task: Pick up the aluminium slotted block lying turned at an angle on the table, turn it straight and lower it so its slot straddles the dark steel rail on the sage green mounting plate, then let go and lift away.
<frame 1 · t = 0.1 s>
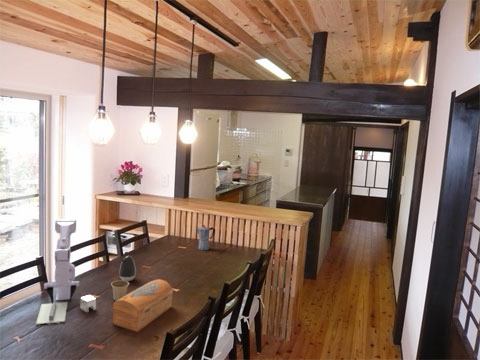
hand: (61, 301, 174), 10 cm above the table, tool pointing down, fingers open, 7 cm apart
egg shaped speaker: (127, 280, 230), on the table
rail plate: (52, 314, 182), on the table
wooden box: (142, 315, 188), on the table
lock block: (87, 309, 190), on the table
flower pot: (119, 299, 204), on the table
moka pot: (204, 249, 304), on the table
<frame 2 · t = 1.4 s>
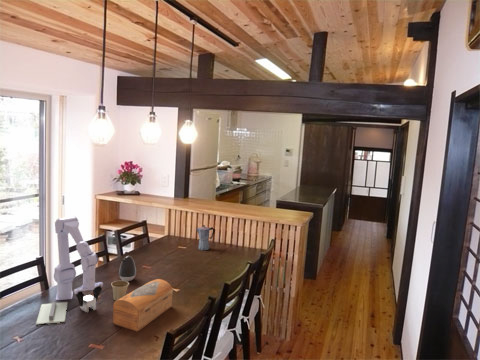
hand: (88, 303, 189), 3 cm above the table, tool pointing down, fingers open, 7 cm apart
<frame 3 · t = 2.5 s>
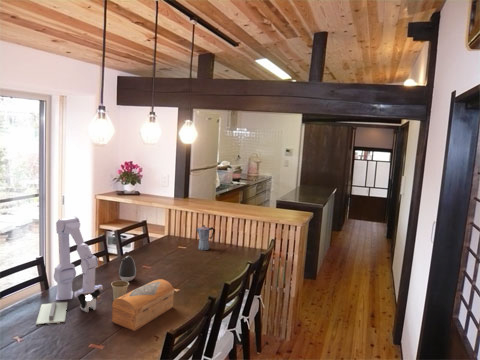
hand: (88, 306, 189), 2 cm above the table, tool pointing down, fingers closed on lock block, 5 cm apart
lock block: (87, 309, 190), on the table, touching gripper
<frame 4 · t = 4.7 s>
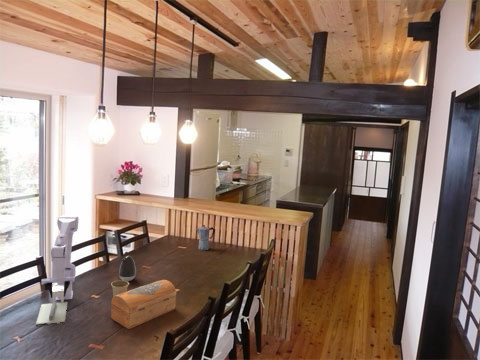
hand: (58, 296, 183), 8 cm above the table, tool pointing down, fingers closed on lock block, 5 cm apart
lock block: (58, 300, 183), point 7 cm above the table, touching gripper
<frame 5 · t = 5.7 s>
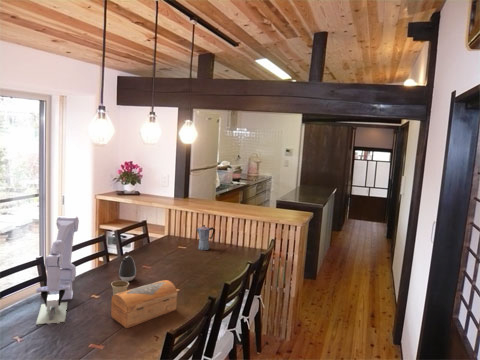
hand: (53, 305, 182), 4 cm above the table, tool pointing down, fingers closed on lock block, 5 cm apart
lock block: (52, 308, 182), point 2 cm above the table, touching gripper
when the fingers open (4 cm above the table, at t = 6.7 s): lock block stays where it is, resting on rail plate.
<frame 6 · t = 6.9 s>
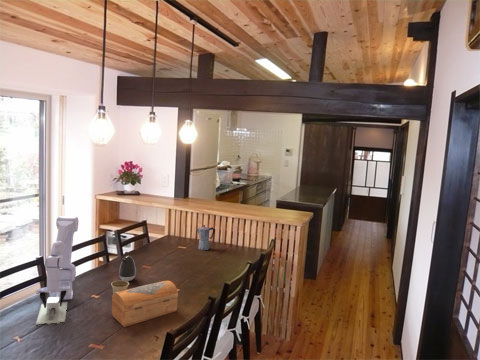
hand: (53, 306, 182), 4 cm above the table, tool pointing down, fingers open, 6 cm apart
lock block: (52, 311, 183), point 1 cm above the table, touching rail plate
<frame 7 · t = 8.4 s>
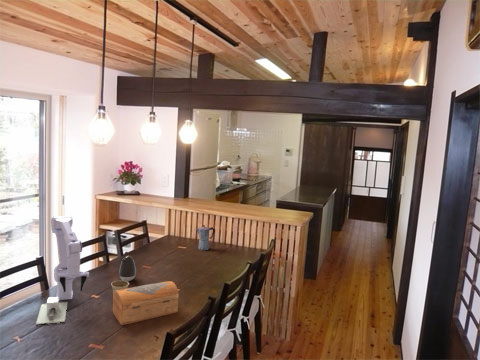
hand: (73, 290, 188), 9 cm above the table, tool pointing down, fingers open, 7 cm apart
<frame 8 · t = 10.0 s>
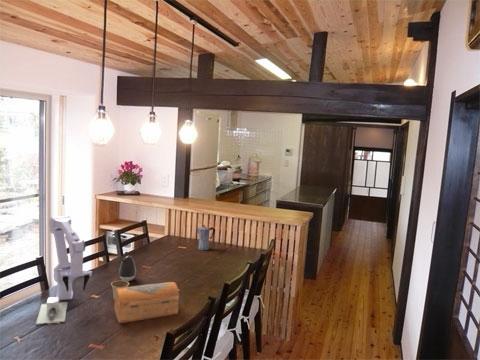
hand: (75, 289, 189), 9 cm above the table, tool pointing down, fingers open, 7 cm apart
at the end: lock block 0.1 cm from the target spot, point 1.0 cm above the table; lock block tilted 0°; the gripper is holding nothing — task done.
